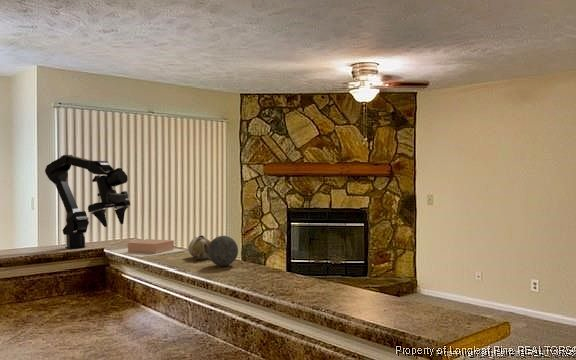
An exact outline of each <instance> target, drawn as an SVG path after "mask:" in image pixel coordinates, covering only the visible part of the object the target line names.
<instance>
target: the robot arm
mask: <svg viewBox="0 0 576 360" xmlns="http://www.w3.org/2000/svg"><path fill="white" fill-rule="evenodd" d="M72 166H73V167H77V168H81V169H85V170H87V171H88V172H89V173H92V175H94V177H93V178H92V180H91V182H92V183H94V182H95V183H96V185H97V189H98V193H97V194H96V195H97V197H99V198H100V202H95V203H92V204H89V205H88V207H87V210H88V211H87V212H88V213H90V214H91V215H93V216H95V217H94V218H96V219H97V220H98V221H99V222H100V223H101V224H102V226H103V227H104V228H107V227H108V222H107V217H106V211H107V209H110V208H115V209H114V212H115V215H116V217H117V219H118V221H119V224H120V225H123V224H124V221H125V213H126V210H127V209H129V206H131V201H130V200H129V199H128V198H129V193H128V191H127V190H125V191H123V190H122V191H121V192H119V193H117V190H116V189H114V187H118V186H121V185H125V184H126V183H127V182H128V180H129V179H128V175H127V173H126V171H124V170H123V167H118V168H113V166H111V165H110V162H109V161H108V160H91V159H87V158H83V157H80V156H74V155H72V154H63V155H61V156H60V157H59V158H57V159H54V160H53V161H51V162H50V163H48V164H47V165H46V167H45V169H44V173H45V175H46V176H47V178H48V180H49V181H50V182H52V183H53V184H54V185H55V187H56V189H57V193H58V194H59V198H60V200H61V201H62V204H63V206H64V209H65V212H66V218H65V221H66V225H65V226H64V227H63V229H62V233H63V235H64V236H65V235H66V246H65V249H69V250H75V249H81V248H86V239H85V234H86V233H87V231H88V228H89V227H88V226H89V224H90V222H89V217H88V215H87V212H86V211H85V210H81V209H80V208H79V206H78V204H77V202H76V199H75V196H74V195H73V192H72V190H71V187H70V185H69V183H68V175H69V174H68V171H69V170H70V169H71V167H72ZM99 175H100V176H99Z"/></svg>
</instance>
